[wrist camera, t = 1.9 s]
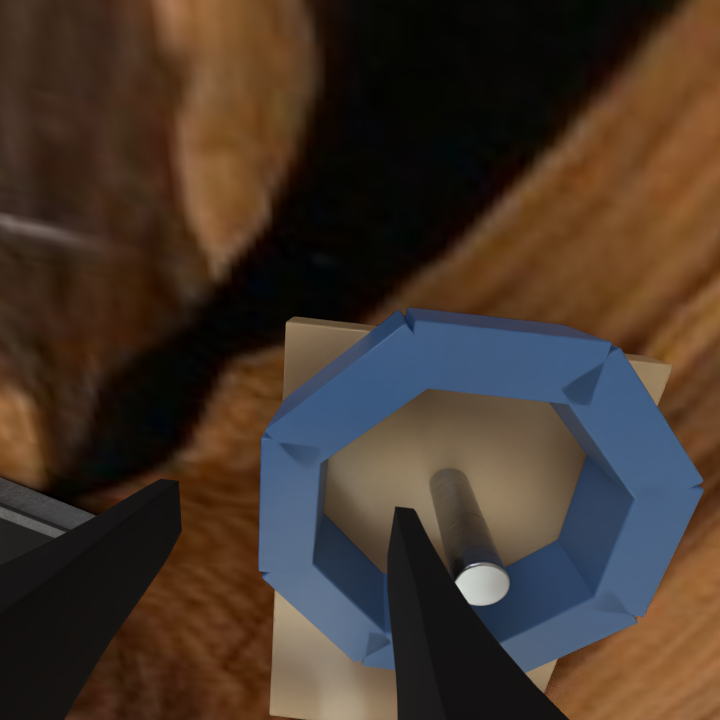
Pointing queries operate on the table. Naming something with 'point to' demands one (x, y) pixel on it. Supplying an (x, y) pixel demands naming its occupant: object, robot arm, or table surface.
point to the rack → (427, 509)
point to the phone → (32, 519)
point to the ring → (530, 574)
